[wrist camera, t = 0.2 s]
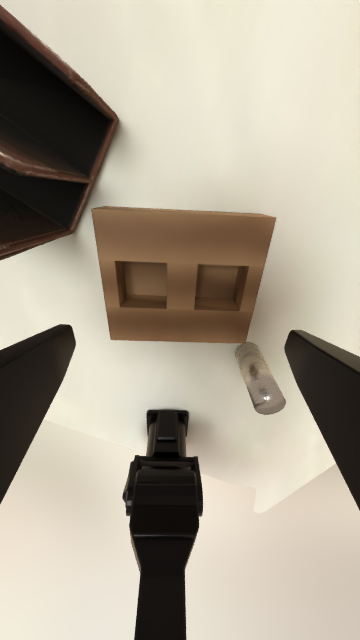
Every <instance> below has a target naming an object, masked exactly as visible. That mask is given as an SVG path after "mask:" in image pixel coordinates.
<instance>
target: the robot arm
mask: <svg viewBox="0 0 360 640" xmlns="http://www.w3.org/2000/svg"><path fill="white" fill-rule="evenodd" d="M75 346H76V341H75V337H74V333H73V329H72V327H71V326H70V325H65V324H60V325H57V326H55V327H52V328H50V329H48V330H46V331H43V332H41V333H39V334H36V335H34V336H32V337H29V338H27V339H25V340H23V341H20V342H18V343H16V344H13V345H11V346H9V347H7V348H4V349H2V350H0V504H1V502H2V500H3V498H4V496H5V494H6V492H7V490H8V488H9V486H10V484H11V482H12V480H13V478H14V476H15V474H16V472H17V470H18V468H19V466H20V464H21V462H22V460H23V458H24V456H25V454H26V452H27V450H28V448H29V446H30V444H31V442H32V441H33V439H34V437H35V434H36V433H37V431H38V429H39V427H40V425H41V423H42V421H43V419H44V417H45V415H46V413H47V411H48V409H49V407H50V405H51V403H52V401H53V399H54V397H55V395H56V393H57V391H58V389H59V387H60V385H61V383H62V381H63V379H64V376H65V374H66V371H67V368H68V366H69V363H70V360H71V358H72V355H73V352H74V349H75ZM284 350H285V353H286V356H287V359H288V362H289V364H290V367H291V370H292V373H293V375H294V378H295V380H296V383H297V385H298V387H299V389H300V391H301V393H302V395H303V397H304V399H305V401H306V403H307V405H308V407H309V409H310V411H311V413H312V415H313V417H314V419H315V421H316V423H317V425H318V427H319V429H320V431H321V433H322V435H323V437H324V439H325V441H326V443H327V445H328V448H329V450H330V452H331V454H332V456H333V458H334V460H335V462H336V464H337V466H338V468H339V469H340V471H341V474H342V476H343V478H344V480H345V482H346V484H347V486H348V488H349V490H350V492H351V494H352V496H353V498H354V500H355V502H356V504H357V506H358V508H359V510H360V357H359V356H357V355H354V354H352V353H350V352H348V351H346V350H344V349H341V348H339V347H337V346H335V345H333V344H331V343H328V342H326V341H324V340H322V339H320V338H318V337H315V336H313V335H311V334H309V333H307V332H305V331H302V330H292V331H290V333H289V335H288V338H287V341H286V344H285V347H284ZM188 417H189V413H188V412H187V411H147V432H148V445H147V453H146V456H139V455H135V459H134V461H132V462H131V464H130V469H129V475H128V479H127V482H126V486H125V489H124V492H123V500H124V502H125V503H126V516H130V524H129V527H130V536H131V543H132V547H133V550H134V553H135V557H136V560H137V564H138V567H139V571H140V584H139V595H138V606H137V616H136V627H135V638H134V640H186V608H185V568H186V565H187V562H188V559H189V557H190V554H191V551H192V548H193V545H194V542H195V539H196V536H197V532H198V528H199V516H202V512H203V494H202V493H203V492H202V483H201V476H200V469H199V463H198V456H194V457H186V436H187V427H188Z"/></svg>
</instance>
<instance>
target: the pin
mask: <svg viewBox="0 0 360 640" xmlns="http://www.w3.org/2000/svg"><path fill="white" fill-rule="evenodd" d="M235 356H236V359H237V361H238V364H239V367H240V370H241V372H242V375H243V378H244V381H245V383H246V386H247V389H248V392H249V394H250V397H251V400H252V403H253V405H254V408H255V410H256V411H257V412H258V413H260V414H264V415H269V414H274V413H277V412H279V411H280V410H282V409H283V408H284V406H285V404H286V400H285V398H284V396H283V395H282V393H281V391H280V389H279V387H278V385H277V383H276V381H275V379H274V377H273V376H272V374H271V372H270V370H269V368H268V366H267V364H266V362H265V360H264V358H263V357H262V355H261V353H260V351H259V349H258V347H257V346H256V345H255V344H253V343H244V344H242V345H240V346H239V347H238V348H237V349H236V351H235Z"/></svg>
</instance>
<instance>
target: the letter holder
mask: <svg viewBox="0 0 360 640" xmlns="http://www.w3.org/2000/svg"><path fill="white" fill-rule="evenodd" d="M117 123H118V117H117V115H116V113H115V112H114V111H113V110H112V109H111V108H110V107H109V106H108V105H107V104H106V103H105V102H104V101H103V99H102V98H101V97H100V96H99V95H98V94H97V93H96V92H95V91H94V90H93V89H92V88H91V86H90V85H89V84H88V83H87V82H85V80H84V79H83V78H81V77H80V76H79V74H78V73H76V72H75V71H74V70H73V69H72V68H71V67H70V66H69V65H68V64H67V63H65V62H64V61H63V60H62V59H61V58H60V57H59V56H58V55H57V54H56V53H54V52H53V51H52V50H51V49H50V48H49V47H48V46H46V45H45V44H44V43H43V42H42V41H41V40H39V39H38V38H37V37H36V36H35V35H34V34H33V33H32V32H31V31H29V30H28V29H27V28H26V27H25V26H24V25H23V24H21V23H20V22H19V21H18V20H17V19H16V18H15V17H14V16H12V15H11V14H10V13H9V12H8V11H7V10H6V9H4V8H3V7H2V6H1V5H0V260H3V259H6V258H8V257H11V256H14V255H17V254H19V253H22V252H24V251H27V250H29V249H32V248H34V247H36V246H39V245H43V244H45V243H47V242H50V241H53V240H55V239H58V238H60V237H63V236H67V235H70V234H71V233H73V231H74V229H75V227H76V224H77V222H78V220H79V217H80V215H81V212H82V210H83V208H84V205H85V202H86V200H87V198H88V195H89V193H90V190H91V188H92V185H93V183H94V180H95V178H96V176H97V173H98V171H99V168H100V166H101V163H102V161H103V159H104V156H105V153H106V151H107V149H108V147H109V144H110V141H111V138H112V136H113V134H114V131H115V128H116V125H117Z"/></svg>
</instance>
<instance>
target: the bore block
mask: <svg viewBox="0 0 360 640" xmlns="http://www.w3.org/2000/svg"><path fill="white" fill-rule="evenodd" d="M91 211H92V218H93V224H94V231H95V238H96V245H97V251H98V258H99V265H100V271H101V278H102V285H103V291H104V298H105V305H106V312H107V318H108V325H109V332H110V338H111V340H133V341H171V342H209V343H245V342H246V338H247V334H248V330H249V326H250V322H251V318H252V314H253V310H254V306H255V302H256V298H257V294H258V290H259V286H260V282H261V278H262V274H263V270H264V266H265V262H266V258H267V253H268V249H269V245H270V241H271V237H272V233H273V229H274V225H275V221H276V218H275V217H271V216H267V215H263V214H253V213H232V212H212V211H191V210H171V209H150V208H130V207H109V206H104V207H98V208H93V209H91Z"/></svg>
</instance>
